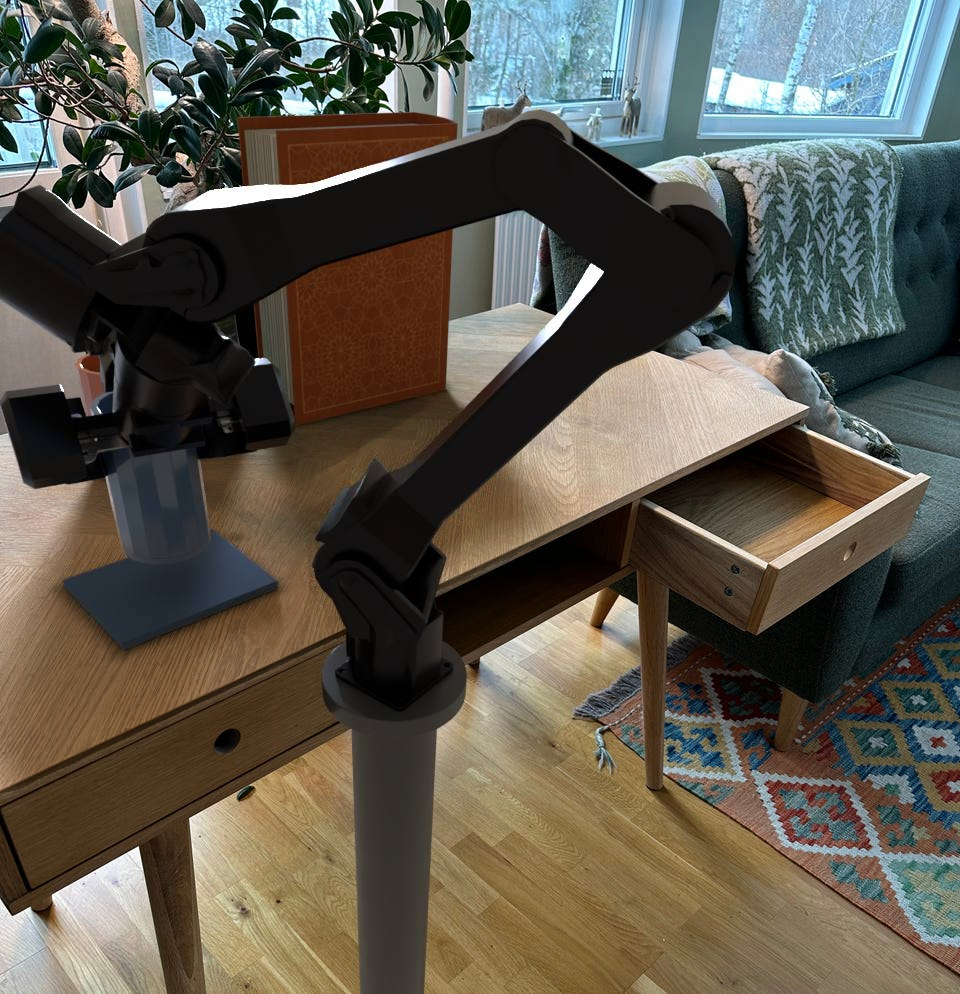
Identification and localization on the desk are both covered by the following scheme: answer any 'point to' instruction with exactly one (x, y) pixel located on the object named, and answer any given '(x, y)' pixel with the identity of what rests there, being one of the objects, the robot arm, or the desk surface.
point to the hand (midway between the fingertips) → (149, 461)
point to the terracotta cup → (89, 380)
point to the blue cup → (156, 500)
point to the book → (352, 273)
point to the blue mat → (167, 591)
